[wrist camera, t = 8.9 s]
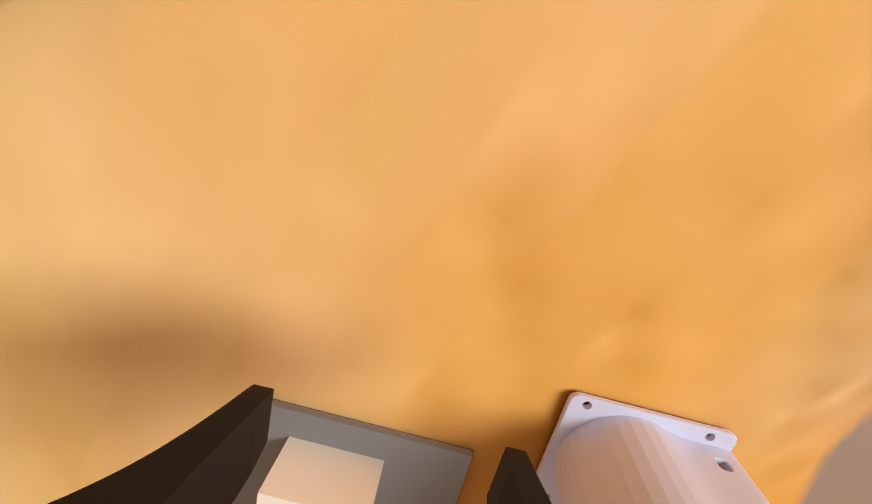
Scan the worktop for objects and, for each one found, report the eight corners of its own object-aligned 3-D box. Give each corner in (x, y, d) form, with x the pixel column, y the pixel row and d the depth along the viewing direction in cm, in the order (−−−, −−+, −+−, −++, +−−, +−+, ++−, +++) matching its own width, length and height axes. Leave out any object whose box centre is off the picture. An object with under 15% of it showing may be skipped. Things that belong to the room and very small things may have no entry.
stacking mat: (472, 450, 26) (472, 456, 25) (434, 560, 29) (433, 567, 28) (249, 392, 26) (244, 398, 25) (236, 509, 29) (232, 516, 28)
